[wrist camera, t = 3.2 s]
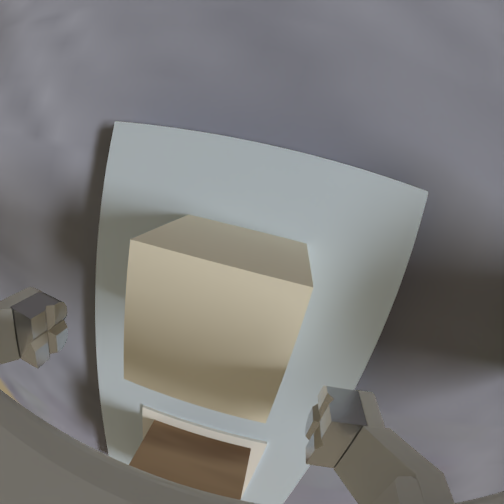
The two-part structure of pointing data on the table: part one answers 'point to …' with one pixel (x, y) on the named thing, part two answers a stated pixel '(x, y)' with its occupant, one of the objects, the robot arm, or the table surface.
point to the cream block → (214, 313)
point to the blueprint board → (267, 221)
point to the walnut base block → (193, 460)
